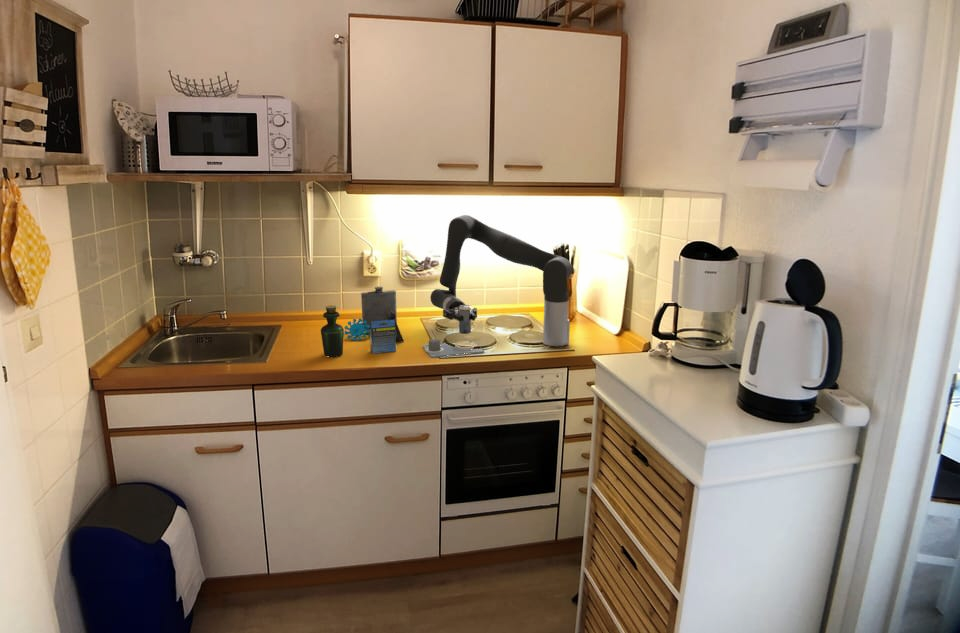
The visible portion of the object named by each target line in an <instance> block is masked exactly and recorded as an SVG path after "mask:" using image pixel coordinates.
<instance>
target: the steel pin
mask: <svg viewBox="0 0 960 633" xmlns="http://www.w3.org/2000/svg"><path fill="white" fill-rule="evenodd" d="M471 310H472V305H469V304H465V305H460V306H459V314H460V315H461V316H462V322H459V321H458V327H459V328H458V332H459V334H461V335H469V334H472V320H471Z"/></svg>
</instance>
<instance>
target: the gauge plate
mask: <svg viewBox="0 0 960 633" xmlns="http://www.w3.org/2000/svg"><path fill="white" fill-rule="evenodd" d="M469 341H470V340H465V341H464V340H463V341H462V342H469ZM457 342H458V343H460V342H461V341H457ZM474 342H475V341H473V342H469V343H473V344H474V345H473V346H471V347H461V346H458V345H457V344H458V343H457V344H454V345H455V348H454V347H452V346H450V345H448V344H446V343H447V342H444V343H442V342H441V340H440V339H438V338H431V339H429V340H428V342H427V343H428V344H422V346H421V347H422V348H423V350H425V352H426V353H427V354H428V356H429V357H430V358H431V359H433V358H443V357H442V356H446V357H448V356H447V355H456V354H464V353H465V354H466V353H476V354H484V353H485V351H484V350H483V349H482V348H481V349H476V350H471V349H473V348H474V347H475V346H476V345H478V344H477V343H476V342H475V343H476V344H475V343H474ZM440 345H441V346H440ZM466 355H467V354H466ZM456 356H457V355H456Z"/></svg>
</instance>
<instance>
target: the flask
mask: <svg viewBox="0 0 960 633" xmlns="http://www.w3.org/2000/svg"><path fill="white" fill-rule="evenodd" d="M383 289H384V287H383V286H375V287H374V290H371V291H367V292H361V294H360V296H361V297H360V298H361V316H362V318H361V319H362V322H364V321H365V320H366V322H367V324H363V325H369V328H366V327H365V328H364V329H366V330H370V329H371V321H383V320H384V318H385V314H384V312H385V311H386V310H388V311H389V310H391V311H392V312H393V313H394V314H395V316H396V317H395V320H396V323H397V322H398V320H397V319H398V318H397V317H398V316H397V313H398V312H397V290H393V289H392V290H383ZM389 312H390V311H389ZM390 313H391V312H390ZM390 315H391V314H390ZM390 315H389V316H390ZM362 322H361V323H362ZM382 324H383V323H382ZM382 324H379V325H382ZM397 324H398V323H397Z"/></svg>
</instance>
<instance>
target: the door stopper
mask: <svg viewBox="0 0 960 633" xmlns="http://www.w3.org/2000/svg"><path fill="white" fill-rule="evenodd" d="M389 311H390V312H391V313H390V312H389ZM389 311H388V310H386V311H385V312H384V314H385V318H384V320H395V317H396V316H395V314H394V313H393V312H392V311H391V310H389ZM390 314H391V315H390ZM389 315H390V316H389ZM382 325H387V323H383V324H382ZM395 334H396V344H397V343H398V344H399V343H404V342H405V341H404V338H403V335H402V334H401V331H400V328H399V326H398V323H396V320H395Z"/></svg>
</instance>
